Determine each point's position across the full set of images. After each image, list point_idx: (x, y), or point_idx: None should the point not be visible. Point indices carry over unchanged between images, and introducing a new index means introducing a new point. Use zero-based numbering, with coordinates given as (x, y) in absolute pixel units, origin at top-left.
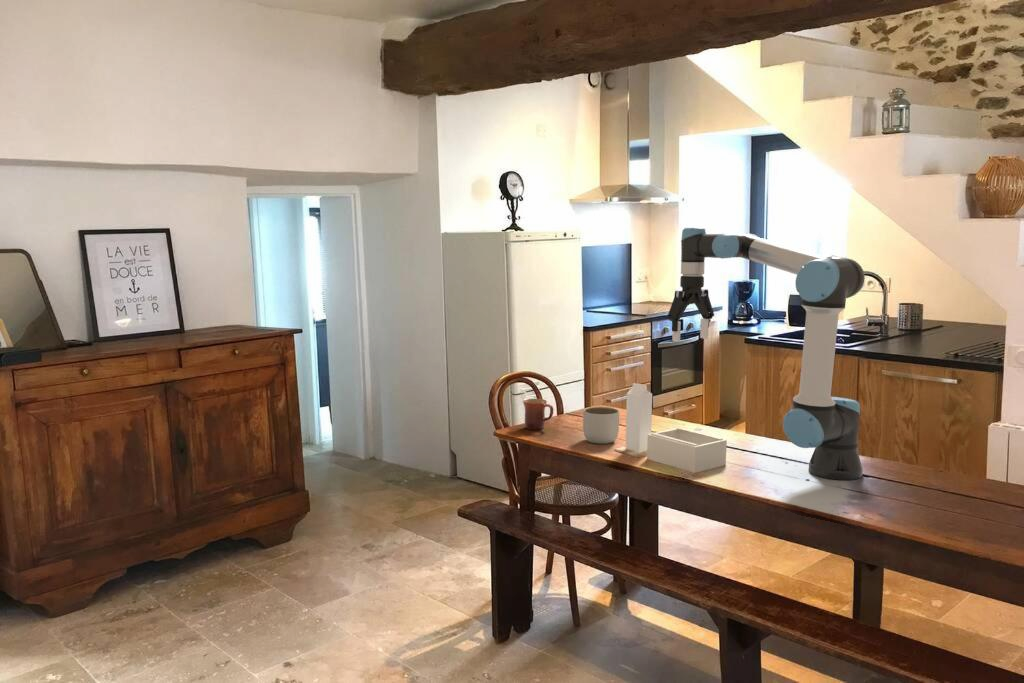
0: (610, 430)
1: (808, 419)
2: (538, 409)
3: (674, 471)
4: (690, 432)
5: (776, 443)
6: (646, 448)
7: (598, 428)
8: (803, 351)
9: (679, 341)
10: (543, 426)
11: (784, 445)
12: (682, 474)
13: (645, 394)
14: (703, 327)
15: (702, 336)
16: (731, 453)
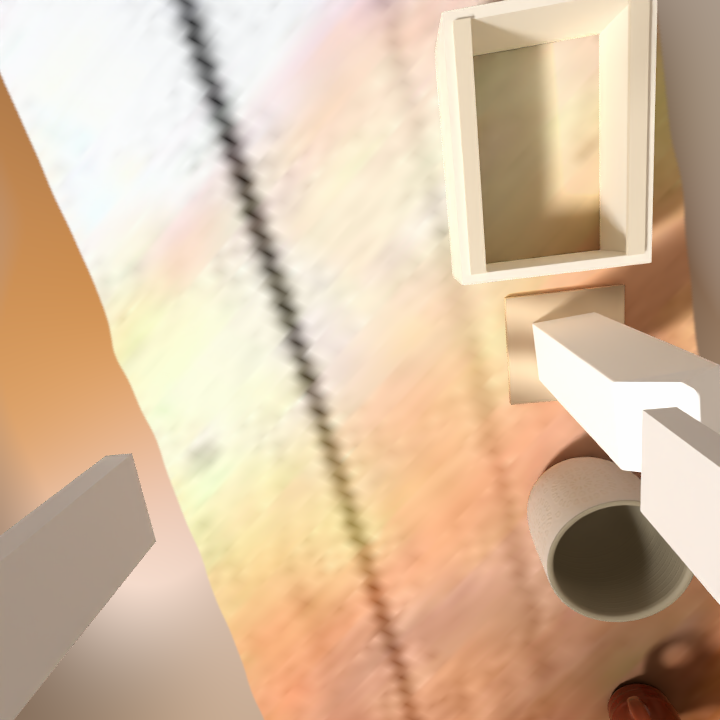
0: (608, 468)
1: None
2: None
3: None
4: (480, 197)
5: (84, 193)
6: (558, 320)
7: None
8: None
9: (660, 408)
10: (623, 690)
11: (76, 159)
12: (657, 29)
13: (676, 373)
14: (49, 598)
15: (136, 520)
16: (309, 168)
